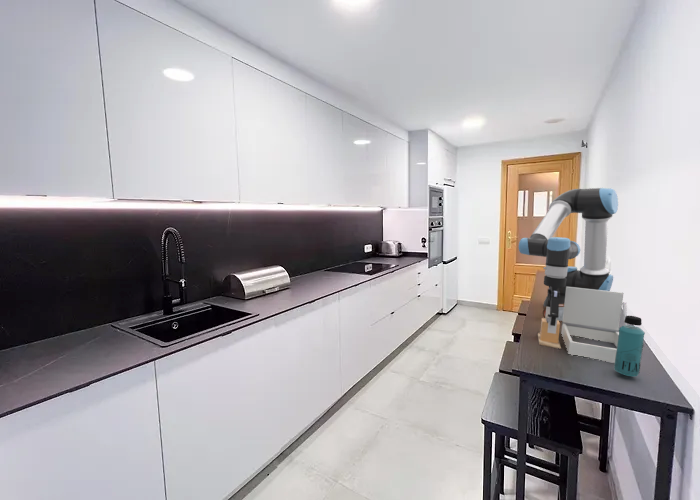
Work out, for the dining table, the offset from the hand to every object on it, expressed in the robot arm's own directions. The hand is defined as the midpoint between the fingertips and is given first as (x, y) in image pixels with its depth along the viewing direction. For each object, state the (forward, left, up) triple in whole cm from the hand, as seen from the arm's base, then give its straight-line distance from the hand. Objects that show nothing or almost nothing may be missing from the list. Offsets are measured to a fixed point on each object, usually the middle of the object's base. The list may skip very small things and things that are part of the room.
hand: (550, 327), depth 133 cm
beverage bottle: (+21, +20, -6) cm, 30 cm away
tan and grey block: (0, 0, -5) cm, 5 cm away
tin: (-30, +6, -6) cm, 31 cm away
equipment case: (0, +15, -6) cm, 16 cm away
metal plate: (0, 0, -6) cm, 6 cm away
